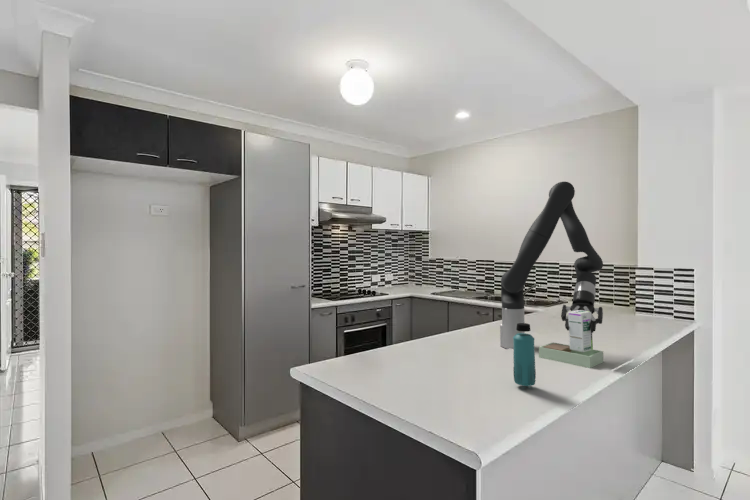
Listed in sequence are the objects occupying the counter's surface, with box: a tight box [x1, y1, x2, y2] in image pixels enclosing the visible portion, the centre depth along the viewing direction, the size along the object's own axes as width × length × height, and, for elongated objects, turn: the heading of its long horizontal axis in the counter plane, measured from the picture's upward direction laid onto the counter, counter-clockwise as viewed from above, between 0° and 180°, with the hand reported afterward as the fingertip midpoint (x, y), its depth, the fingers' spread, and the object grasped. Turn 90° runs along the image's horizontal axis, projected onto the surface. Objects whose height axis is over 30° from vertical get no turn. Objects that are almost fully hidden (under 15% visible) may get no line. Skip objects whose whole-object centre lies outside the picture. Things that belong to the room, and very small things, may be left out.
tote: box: [538, 342, 604, 369], centre depth 156 cm, size 19×11×5 cm, turn 39°
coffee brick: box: [544, 343, 571, 353], centre depth 160 cm, size 7×8×4 cm
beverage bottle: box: [512, 322, 537, 387], centre depth 128 cm, size 6×7×20 cm
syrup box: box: [567, 310, 594, 352], centre depth 153 cm, size 6×6×14 cm
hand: (579, 330), depth 152 cm, fingers closed on syrup box, 7 cm apart
